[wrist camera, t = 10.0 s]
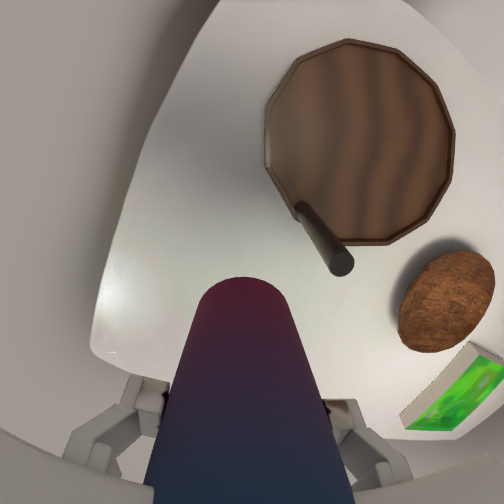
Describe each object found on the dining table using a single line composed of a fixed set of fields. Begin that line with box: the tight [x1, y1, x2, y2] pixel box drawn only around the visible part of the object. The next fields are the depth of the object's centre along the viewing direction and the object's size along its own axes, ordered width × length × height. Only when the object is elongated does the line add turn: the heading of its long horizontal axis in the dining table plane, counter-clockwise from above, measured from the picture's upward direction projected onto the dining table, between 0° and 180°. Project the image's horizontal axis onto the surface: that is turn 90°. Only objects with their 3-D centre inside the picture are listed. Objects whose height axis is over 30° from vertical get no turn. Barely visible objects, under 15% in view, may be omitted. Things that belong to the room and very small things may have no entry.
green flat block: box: [399, 342, 504, 431], centre depth 55 cm, size 25×25×5 cm
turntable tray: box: [264, 38, 456, 277], centre depth 26 cm, size 26×26×16 cm
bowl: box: [398, 250, 495, 353], centre depth 42 cm, size 20×22×5 cm
